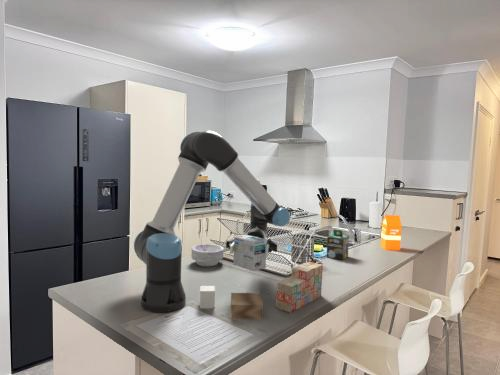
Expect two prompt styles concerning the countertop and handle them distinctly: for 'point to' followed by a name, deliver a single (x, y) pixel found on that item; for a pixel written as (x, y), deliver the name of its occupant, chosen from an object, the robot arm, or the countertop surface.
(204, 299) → the off-white block
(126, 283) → the countertop surface
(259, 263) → the light bulb box
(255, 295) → the walnut block
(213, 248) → the paper bowls
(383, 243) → the orange juice
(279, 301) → the stack of blocks
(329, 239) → the chalk box
